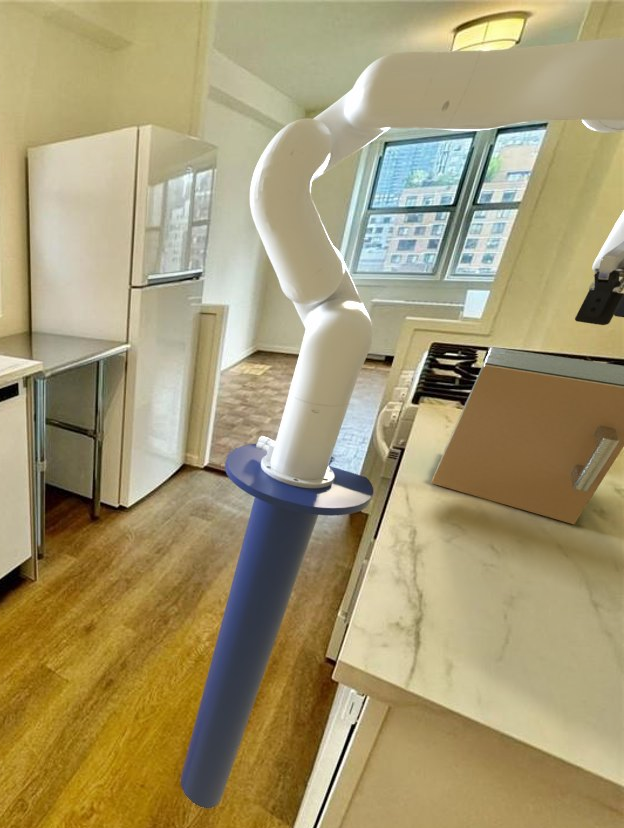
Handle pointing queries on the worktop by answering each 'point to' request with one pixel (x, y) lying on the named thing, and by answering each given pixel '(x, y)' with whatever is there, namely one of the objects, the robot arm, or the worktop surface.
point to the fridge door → (535, 441)
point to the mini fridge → (552, 368)
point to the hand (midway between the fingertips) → (610, 320)
